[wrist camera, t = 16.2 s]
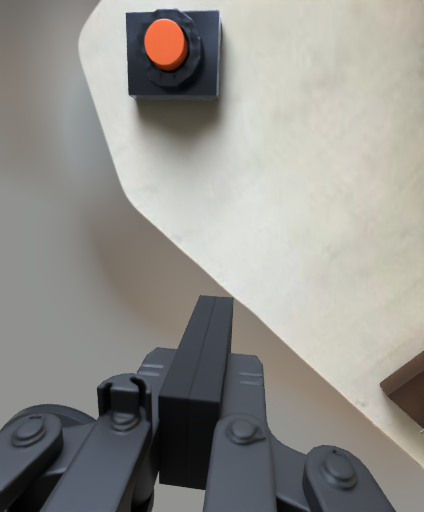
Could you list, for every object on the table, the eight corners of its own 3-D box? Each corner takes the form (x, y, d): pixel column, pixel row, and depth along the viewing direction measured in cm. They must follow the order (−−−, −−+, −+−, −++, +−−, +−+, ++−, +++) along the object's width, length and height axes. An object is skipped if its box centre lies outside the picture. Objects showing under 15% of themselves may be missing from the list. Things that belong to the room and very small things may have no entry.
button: (150, 71, 33) (144, 65, 31) (149, 27, 32) (143, 18, 30) (187, 70, 32) (183, 65, 30) (187, 26, 31) (184, 18, 29)
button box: (135, 99, 37) (122, 90, 33) (133, 22, 35) (118, 3, 31) (218, 100, 36) (214, 91, 32) (221, 20, 34) (217, 0, 30)
